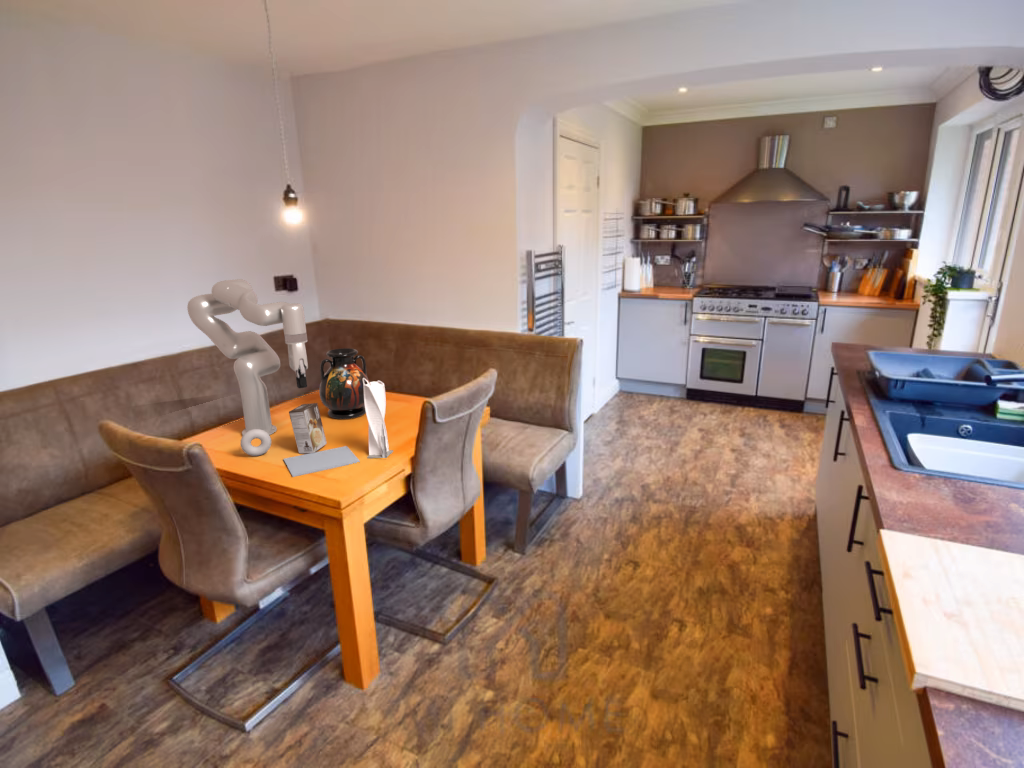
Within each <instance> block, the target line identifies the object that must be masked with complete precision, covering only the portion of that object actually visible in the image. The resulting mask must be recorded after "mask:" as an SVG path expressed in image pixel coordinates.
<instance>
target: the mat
mask: <svg viewBox="0 0 1024 768" xmlns="http://www.w3.org/2000/svg"><path fill="white" fill-rule="evenodd" d="M283 461H284V464H285V466H286V465H287V466H286V467H287V469H288V471H289V473H290V475H291V476H292V478H294V477H299V476H304V475H308V474H312V473H317V472H322V471H326V470H327V471H328V470H331V469H337V468H340V467H344V466H349V464H350V465H353V463H354V464H358V463H357V462H359V463H360V459H359V458H358V457H357V456H356V455H355V453H354V452H353V451H352V450H351V449H350V448H349V447H348V446H347V445H343V446H340V447H335V448H330V449H329V448H328V449H325V450H320V451H319V450H318V451H316V452H314V453H303V454H301V455H300V454H299V455H295V456H292V457H291V456H290V457H285V458H283Z"/></svg>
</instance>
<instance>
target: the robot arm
mask: <svg viewBox="0 0 1024 768" xmlns="http://www.w3.org/2000/svg"><path fill="white" fill-rule="evenodd" d="M258 299H259V298H258V296H257V294H256V292H255V291H254V289H253V287H252V285H251V283H249V282H248V281H247V280H245V279H242V278H237V279H228V280H227V279H226V280H219V281H218V282H216V283H215V284H214V285H212V288H211V293H206V294H200V295H199V294H198V295H196V296H194V297H192V298H190V300H189V301H188V302H187V309H186V310H187V313H188V316H189V318H190V320H191V322H192V323H193V324H194V326H195V327H196V329H199V330H200V331H201V332H202V333H203V334H204V335H206V336H207V338H209V339H210V341H211V342H212V343H213V344H214V345H215V346H216V348H217V349H218V350H219V351H220V352H221V353H222V354H223V355H224V356H225V357H226V358H228V359H231V360H235V361H234V363H233V371H234V373H235V376H236V380H237V382H238V387H239V391H240V397H241V406H242V412H243V419H244V420H243V421H244V426H245V428H244V429H243V430H242V431H241V434H242V436H243V435H244V434H245V433H246V432H248V431H249V430H253V429H261V430H264V431H265V432H267V433H268V434H269V436H270V435H273V434H274V432H275V433H276V432H277V429H278V428H277V426H276V425H274V424H273V422H272V417H271V416H272V415H271V409H270V402H269V401H270V399H269V395H268V388H267V385H266V383H265V382H264V381H263V380H262V377H264V376H267V375H271V374H274V373H276V372H278V371H279V369H280V367H281V360H280V357H279V356H278V353H277V352H276V351H275V350H274V349H273V348H272V347H271V345H269V344H268V343H267V341H266V340H265V339H264V338H263V337H262V335H260V334H259V333H257V332H255V331H253V330H247V331H241V332H236V331H235V330H234V329H233V328H231V326H230V325H229V324H228V323H226V321H224V320H222V319H220V318H218V317H215V316H220V315H227V314H232V313H233V312H235V311H236V310H237V311H239V313H240V315H241V316H242V318H243V319H244V320H246V321H247V322H249V323H252V324H254V325H257V326H260V327H268V326H273V325H278V324H282V328H283V334H284V343H285V344H286V345H287V353H288V355H287V356H288V362H289V368H290V369H291V370H292V371H294V372H295V380H296V387H297V389H305V388H306V389H307V388H308V382H307V376H306V371H307V370H308V369H309V364H308V356H307V350H306V349H307V348H306V343H307V342H308V334H307V326H306V319H305V317H306V316H305V312H304V311H305V310H304V307H303V304H301V303H295V302H294V303H291V302H290V303H289V302H286V301H279V302H271V303H265V304H264V303H263V304H258Z"/></svg>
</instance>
